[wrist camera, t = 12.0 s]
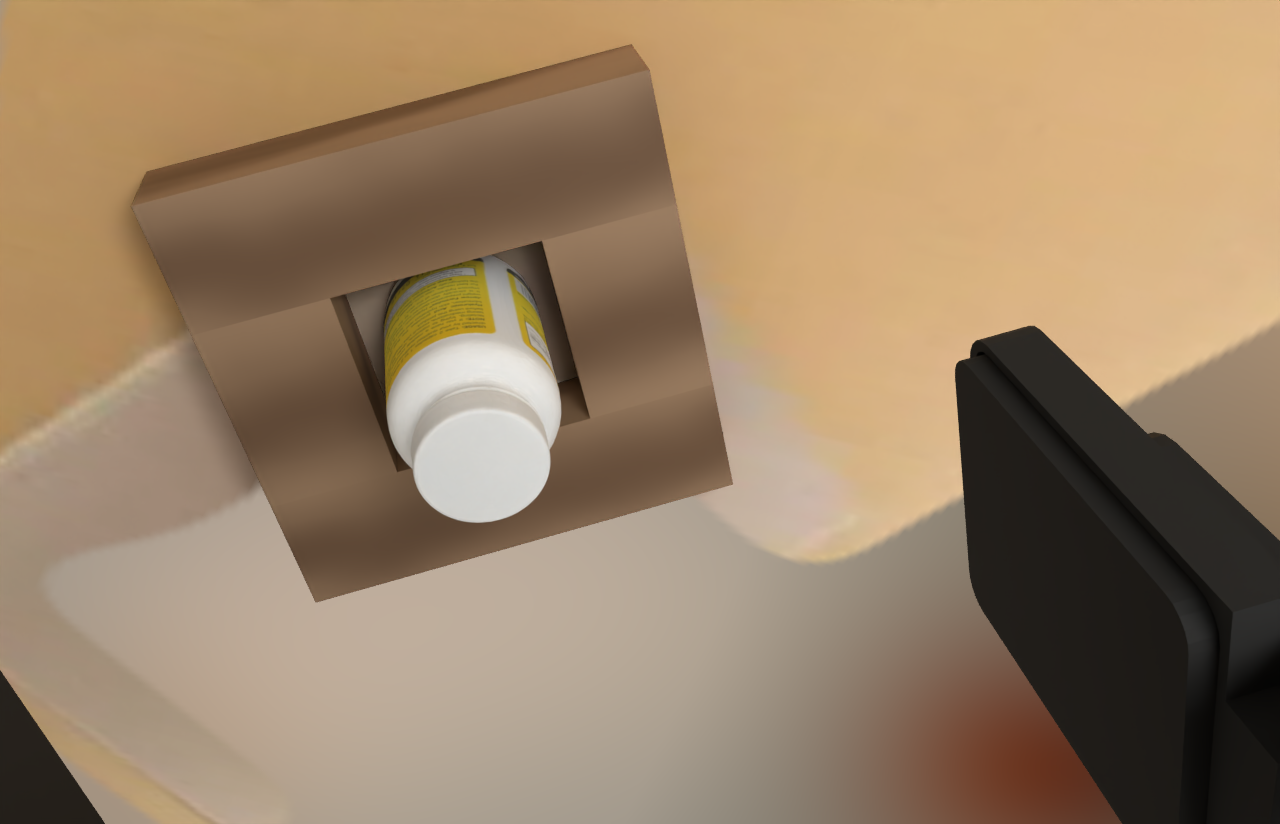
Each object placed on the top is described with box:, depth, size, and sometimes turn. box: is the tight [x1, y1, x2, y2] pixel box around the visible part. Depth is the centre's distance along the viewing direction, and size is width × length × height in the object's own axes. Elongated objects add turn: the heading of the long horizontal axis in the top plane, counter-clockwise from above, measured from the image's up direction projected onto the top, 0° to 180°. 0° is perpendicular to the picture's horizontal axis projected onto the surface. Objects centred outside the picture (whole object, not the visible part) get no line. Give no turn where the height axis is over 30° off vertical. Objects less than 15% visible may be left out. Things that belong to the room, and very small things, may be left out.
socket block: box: [131, 44, 733, 602], centre depth 42 cm, size 16×16×3 cm
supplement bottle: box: [384, 255, 561, 523], centre depth 39 cm, size 5×5×10 cm
